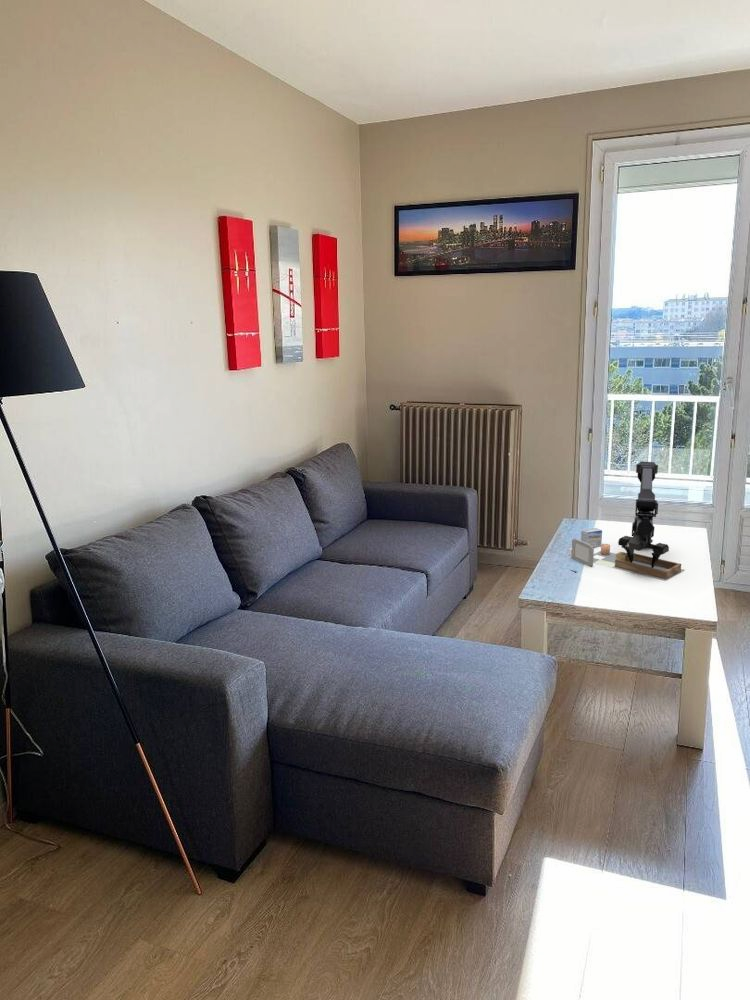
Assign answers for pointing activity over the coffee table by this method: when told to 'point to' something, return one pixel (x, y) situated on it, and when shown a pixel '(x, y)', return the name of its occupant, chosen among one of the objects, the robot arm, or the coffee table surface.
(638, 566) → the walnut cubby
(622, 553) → the oak block
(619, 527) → the coffee table surface
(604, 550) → the peach dome
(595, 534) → the medicine box
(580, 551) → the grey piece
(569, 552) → the cream cube
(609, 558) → the slate board
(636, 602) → the coffee table surface
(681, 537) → the coffee table surface
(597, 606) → the coffee table surface
